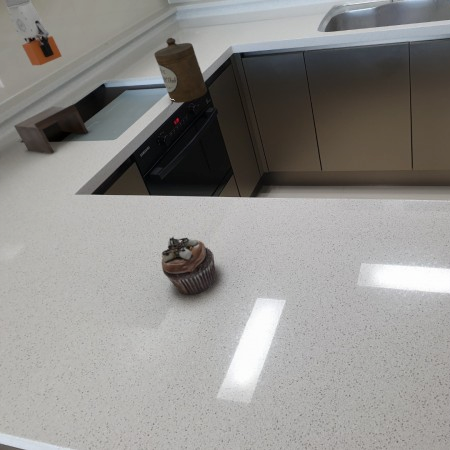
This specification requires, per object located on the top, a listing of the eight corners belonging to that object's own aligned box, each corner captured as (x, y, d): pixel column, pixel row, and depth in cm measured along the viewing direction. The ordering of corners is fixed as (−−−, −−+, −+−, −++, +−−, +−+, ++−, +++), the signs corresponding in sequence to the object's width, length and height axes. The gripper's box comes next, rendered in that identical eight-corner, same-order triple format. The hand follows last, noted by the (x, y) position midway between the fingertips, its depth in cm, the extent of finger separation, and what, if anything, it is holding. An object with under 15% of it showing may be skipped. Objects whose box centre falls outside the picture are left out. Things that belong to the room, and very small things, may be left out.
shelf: (28, 150, 165) (11, 121, 158) (64, 130, 176) (50, 102, 169) (51, 153, 158) (35, 123, 152) (88, 132, 169) (74, 103, 162)
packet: (32, 65, 161) (21, 45, 157) (53, 56, 167) (43, 36, 163) (40, 65, 159) (30, 44, 155) (62, 56, 165) (52, 36, 161)
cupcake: (219, 292, 85) (203, 251, 80) (168, 302, 86) (148, 262, 80) (221, 259, 93) (207, 220, 87) (175, 269, 93) (157, 230, 88)
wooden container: (167, 96, 186) (146, 41, 173) (201, 85, 190) (184, 30, 177) (175, 106, 174) (154, 47, 162) (211, 94, 178) (194, 35, 166)
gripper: (-7, 5, 153) (22, 60, 164) (22, 1, 145) (50, 59, 155) (13, -1, 158) (39, 53, 169) (42, -5, 150) (68, 52, 160)
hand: (44, 55), depth 162 cm, fingers closed on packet, 5 cm apart
